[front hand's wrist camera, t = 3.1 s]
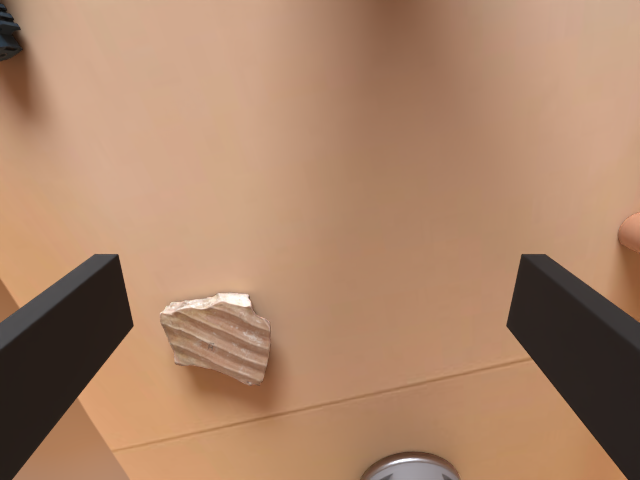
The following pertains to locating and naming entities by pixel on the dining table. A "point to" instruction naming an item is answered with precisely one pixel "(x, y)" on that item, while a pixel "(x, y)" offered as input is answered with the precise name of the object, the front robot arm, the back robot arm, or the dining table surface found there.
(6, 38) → the handgun
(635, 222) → the tall tan cylinder
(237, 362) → the stone
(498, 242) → the dining table surface
